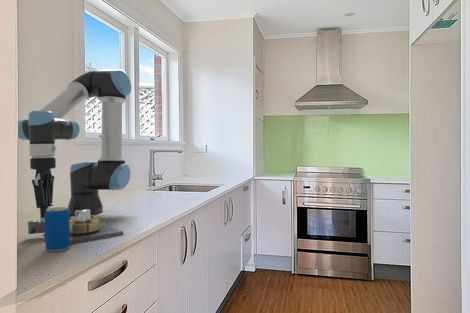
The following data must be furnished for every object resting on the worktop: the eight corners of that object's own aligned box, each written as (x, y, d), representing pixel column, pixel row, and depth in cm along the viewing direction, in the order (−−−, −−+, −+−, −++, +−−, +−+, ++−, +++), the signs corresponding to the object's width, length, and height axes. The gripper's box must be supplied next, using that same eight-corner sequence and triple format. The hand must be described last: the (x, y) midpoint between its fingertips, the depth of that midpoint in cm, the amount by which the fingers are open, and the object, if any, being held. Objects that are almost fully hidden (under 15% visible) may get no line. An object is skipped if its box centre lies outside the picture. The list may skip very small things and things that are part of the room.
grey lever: (102, 224, 127) (101, 213, 127) (98, 231, 116) (98, 220, 116) (33, 229, 121) (33, 217, 121) (23, 237, 111) (22, 224, 111)
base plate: (44, 233, 122) (43, 210, 121) (102, 224, 134) (102, 203, 134) (59, 246, 106) (58, 219, 106) (123, 234, 119) (122, 210, 119)
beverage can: (46, 247, 105) (45, 208, 104) (70, 245, 107) (69, 206, 107) (44, 253, 99) (43, 211, 98) (69, 250, 101) (68, 209, 101)
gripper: (47, 157, 112) (50, 230, 113) (61, 156, 125) (63, 221, 126) (22, 158, 111) (25, 231, 112) (38, 156, 124) (41, 222, 125)
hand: (45, 226), depth 119 cm, fingers closed
